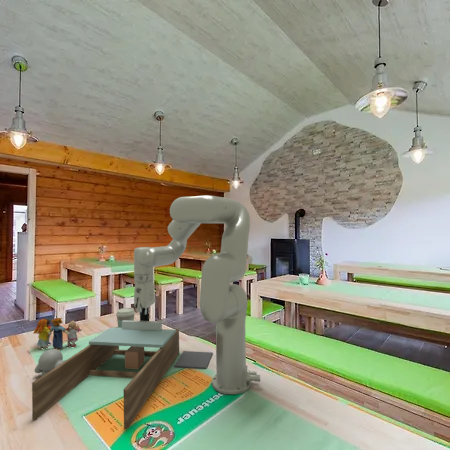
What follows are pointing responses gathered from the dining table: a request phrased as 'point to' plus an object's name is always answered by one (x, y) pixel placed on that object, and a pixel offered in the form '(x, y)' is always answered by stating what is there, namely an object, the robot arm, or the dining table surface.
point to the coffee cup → (125, 315)
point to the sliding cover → (135, 335)
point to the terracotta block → (134, 357)
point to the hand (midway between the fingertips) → (144, 323)
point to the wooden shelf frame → (91, 360)
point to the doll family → (56, 333)
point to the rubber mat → (194, 360)
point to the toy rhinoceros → (49, 361)
